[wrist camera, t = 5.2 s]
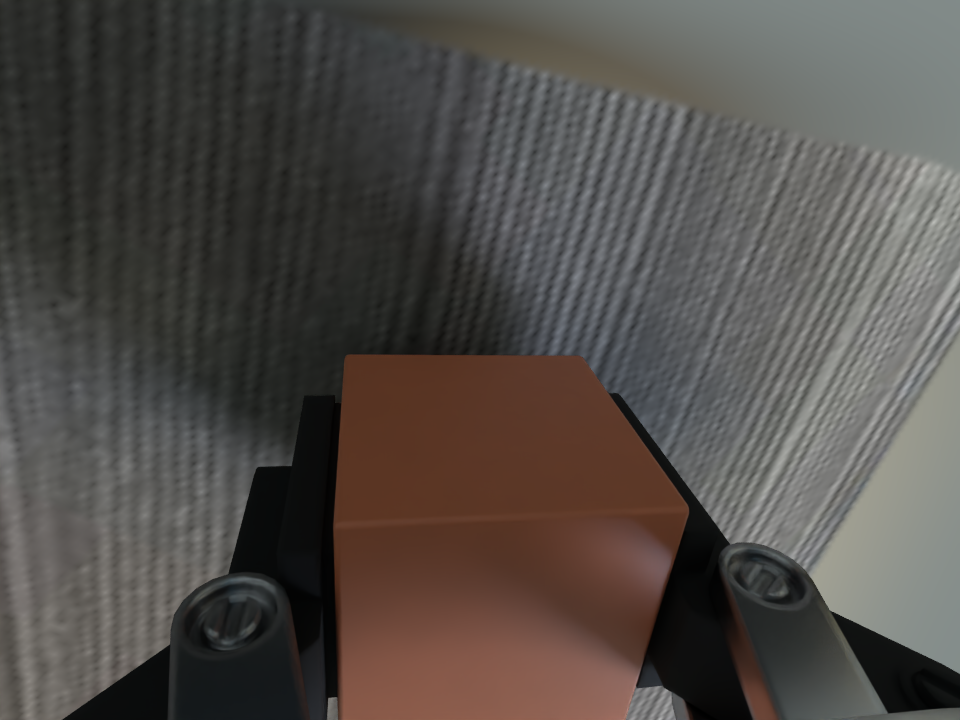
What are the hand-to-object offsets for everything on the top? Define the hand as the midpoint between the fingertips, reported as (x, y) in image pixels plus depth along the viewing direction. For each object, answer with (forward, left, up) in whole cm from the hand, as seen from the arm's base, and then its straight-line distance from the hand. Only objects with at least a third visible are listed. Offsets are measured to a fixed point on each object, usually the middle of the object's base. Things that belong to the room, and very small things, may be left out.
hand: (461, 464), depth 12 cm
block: (0, 0, 0) cm, 0 cm away
